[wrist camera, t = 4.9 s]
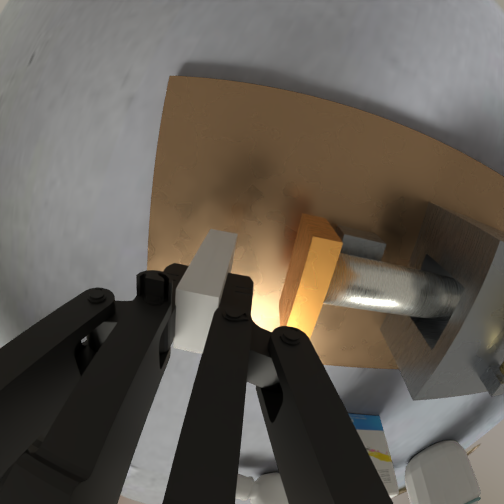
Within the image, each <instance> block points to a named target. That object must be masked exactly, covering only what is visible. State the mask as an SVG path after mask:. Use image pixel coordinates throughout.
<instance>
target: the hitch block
mask: <svg viewBox="0 0 504 504" xmlns="http://www.w3.org/2000/svg"><path fill="white" fill-rule="evenodd" d="M302 213H304V214H309V215H314V216H318V217H323V218H326V219H327V221H328V222H329V223H330V225H331V226H332V228H333V229H334V230H335V232H336V233H337V235H338V236H339V238H340V239H341V241H342V242H343V245H342V248H341V251H340V253H343V254H348V255H353V256H358V257H363V258H367V259H372V260H377V261H381V262H386V263H391V264H395V265H400V266H405V267H409V268H414V269H418V270H423V271H427V272H432V273H436V274H441V275H445V276H450V277H454V278H455V279H456V280H457V281H458V282H459V283H460V284H461V285H462V286H463V287H465V289H464V291H463V294H462V296H461V298H460V300H459V302H458V304H457V306H456V308H455V310H454V312H453V314H452V316H451V318H450V320H440V319H431V318H423V317H414V316H406V315H398V314H391V313H383V312H376V311H369V310H362V309H355V308H348V307H341V306H335V305H328V304H323V305H322V308H321V311H320V313H319V316H318V319H317V321H316V324H315V327H314V329H313V332H312V335H311V337H310V341H311V343H312V345H313V347H314V348H315V350H316V352H317V354H318V356H319V358H320V360H321V362H322V364H323V365H334V366H346V367H361V368H380V369H399V370H400V372H401V374H402V377H403V379H404V381H405V383H406V386H407V388H408V390H409V392H410V395H411V397H412V399H413V400H427V399H437V398H447V397H455V396H462V395H469V394H475V393H481V392H487V391H488V392H489V394H490V395H491V397H493V396H497V395H501V394H503V393H504V375H503V374H502V373H501V371H500V369H499V367H500V366H501V364H502V363H503V361H504V177H503V176H502V175H500V174H498V173H497V172H495V171H494V170H492V169H490V168H489V167H487V166H485V165H483V164H482V163H480V162H478V161H476V160H475V159H473V158H471V157H469V156H467V155H466V154H464V153H462V152H460V151H458V150H456V149H454V148H452V147H450V146H448V145H446V144H444V143H442V142H440V141H438V140H436V139H433V138H431V137H429V136H427V135H425V134H422V133H420V132H418V131H415V130H413V129H411V128H408V127H406V126H403V125H401V124H398V123H396V122H393V121H390V120H388V119H385V118H382V117H380V116H377V115H374V114H371V113H368V112H365V111H362V110H359V109H356V108H353V107H350V106H346V105H343V104H340V103H336V102H333V101H329V100H325V99H322V98H318V97H314V96H310V95H306V94H302V93H297V92H293V91H288V90H283V89H278V88H273V87H268V86H262V85H256V84H250V83H244V82H237V81H229V80H221V79H211V78H200V77H187V76H170V77H169V82H168V86H167V91H166V97H165V102H164V107H163V113H162V119H161V125H160V131H159V138H158V145H157V152H156V160H155V168H154V177H153V186H152V196H151V208H150V221H149V238H148V262H147V271H148V270H157V271H162V272H163V271H164V269H165V268H166V267H167V266H169V265H171V264H173V263H178V264H183V265H188V266H189V265H190V263H191V261H192V260H193V258H194V256H195V254H196V253H197V251H198V249H199V248H200V246H201V244H202V242H203V241H204V239H205V237H206V236H207V234H208V232H209V231H210V229H214V230H219V231H225V232H230V233H236V234H238V235H237V241H236V247H235V253H234V259H233V265H232V270H231V273H234V274H239V275H245V276H250V277H251V279H252V281H253V282H254V287H253V298H252V309H251V317H252V320H253V321H254V322H255V323H256V324H257V325H258V326H259V327H261V328H263V329H265V330H268V331H270V332H272V331H273V330H274V329H275V328H277V327H279V326H280V317H279V300H280V297H281V293H282V289H283V286H284V282H285V278H286V275H287V271H288V267H289V263H290V259H291V255H292V252H293V248H294V244H295V240H296V236H297V232H298V228H299V224H300V220H301V216H302Z"/></svg>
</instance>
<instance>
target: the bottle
mask: <svg viewBox="0 0 504 504" xmlns="http://www.w3.org/2000/svg"><path fill="white" fill-rule="evenodd" d="M235 498H237V499H241V500H242V501H246V500H248V499H249V498H250V502H251V504H289V503H288V500H287V497H286V493H285V490H284V487H283V483H282V480H281V477H280V473H275V472H274V473H268V474H264V475H262V476H260V477H259V478H258V479H257V480H256V481H254V479H253V478H252V477H250V476H249V477H246V476H243V475H240V474H238V477H237V487H236V497H235Z"/></svg>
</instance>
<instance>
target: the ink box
mask: <svg viewBox="0 0 504 504" xmlns="http://www.w3.org/2000/svg"><path fill="white" fill-rule="evenodd" d="M348 414H349V416H350V418H351V420H352V422H353V424H354V426H355V428H356V430H357V432H358V434H359V436H360V438H361V440H362V442H363V444H364V446H365V448H366V450H367V452H368V454H369V456H370V458H371V460H372V462H373V464H374V466H375V468H376V470H377V472H378V474H379V476H380V478H381V480H382V482H383V484H384V486H385V488H386V490H387V492H388V494H389V496H390V498H392V497H394V496H396V495H398V494H399V490H398V485H397V481H396V476H395V472H394V468H393V464H392V460H391V456H390V452H389V449H388V445H387V441H386V437H385V434H384V430H383V427H382V423H381V420H380V416H379V415H377V416H373V415H361V414H351V413H348Z"/></svg>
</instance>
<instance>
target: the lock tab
mask: <svg viewBox="0 0 504 504" xmlns="http://www.w3.org/2000/svg"><path fill="white" fill-rule="evenodd" d="M499 369H500V371H501V373H502V374H503V375H504V361H503V363H502V364H501V366H500V367H499Z"/></svg>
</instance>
